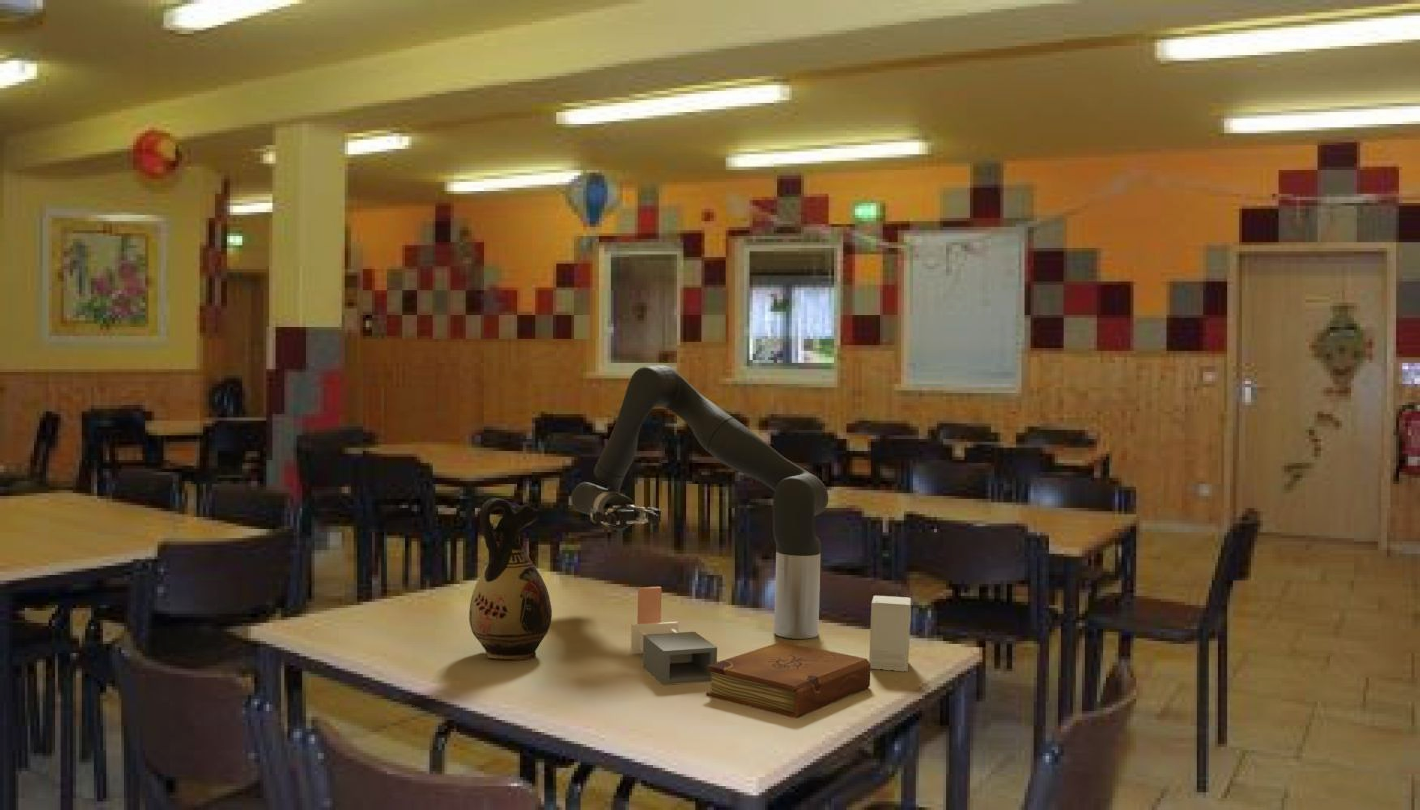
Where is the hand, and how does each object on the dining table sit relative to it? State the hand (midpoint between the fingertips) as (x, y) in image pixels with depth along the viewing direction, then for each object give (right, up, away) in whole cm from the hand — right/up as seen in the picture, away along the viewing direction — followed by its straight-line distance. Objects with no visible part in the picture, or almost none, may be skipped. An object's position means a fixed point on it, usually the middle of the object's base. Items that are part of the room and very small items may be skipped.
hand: (635, 520), depth 237 cm
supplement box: (+49, -26, -17) cm, 58 cm away
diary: (+29, -27, -36) cm, 53 cm away
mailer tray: (+6, -24, -17) cm, 30 cm away
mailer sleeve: (+10, -25, -27) cm, 38 cm away
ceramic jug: (-23, -24, -17) cm, 38 cm away
